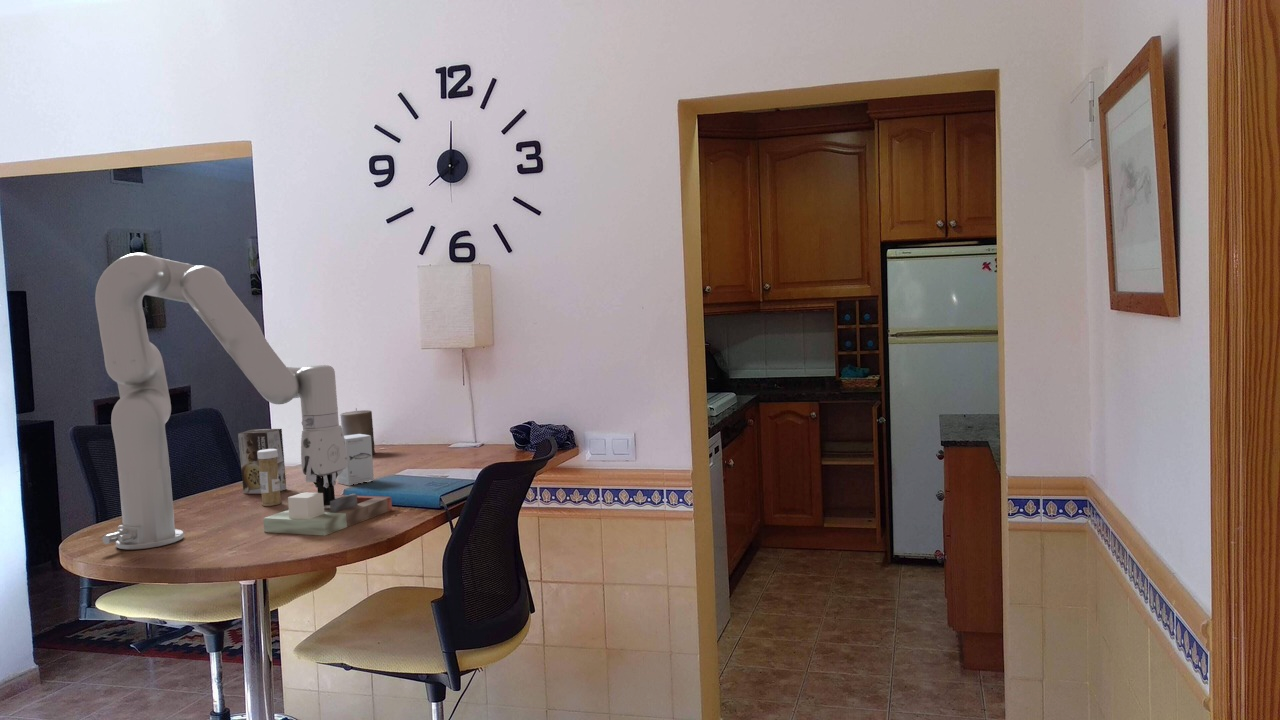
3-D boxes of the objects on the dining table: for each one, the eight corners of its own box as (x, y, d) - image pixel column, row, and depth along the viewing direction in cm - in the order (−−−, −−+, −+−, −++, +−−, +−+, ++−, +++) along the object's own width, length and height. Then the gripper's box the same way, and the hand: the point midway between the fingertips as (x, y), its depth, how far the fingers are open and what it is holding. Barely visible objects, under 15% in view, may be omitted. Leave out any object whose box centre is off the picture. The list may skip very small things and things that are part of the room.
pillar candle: (381, 453, 301) (378, 406, 301) (357, 458, 293) (354, 410, 292) (360, 452, 307) (357, 406, 306) (336, 457, 298) (333, 409, 297)
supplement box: (348, 486, 248) (345, 438, 247) (336, 483, 254) (333, 436, 253) (374, 481, 253) (371, 435, 252) (362, 478, 258) (359, 432, 258)
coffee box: (287, 489, 249) (283, 428, 247) (272, 494, 242) (267, 432, 241) (258, 488, 251) (253, 428, 250) (241, 493, 245) (237, 432, 244)
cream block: (308, 519, 198) (307, 498, 198) (289, 518, 200) (287, 497, 199) (324, 513, 203) (322, 492, 202) (305, 512, 204) (303, 492, 204)
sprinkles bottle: (283, 504, 229) (279, 449, 228) (263, 507, 226) (259, 452, 225) (279, 501, 233) (274, 447, 232) (259, 504, 230) (255, 450, 229)
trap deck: (325, 535, 196) (323, 509, 195) (264, 531, 201) (262, 506, 201) (391, 509, 217) (390, 486, 217) (335, 507, 223) (333, 484, 222)
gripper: (310, 427, 198) (317, 513, 200) (356, 417, 212) (362, 497, 214) (282, 427, 201) (289, 511, 202) (329, 417, 215) (335, 496, 216)
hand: (327, 504), depth 208 cm, fingers closed
